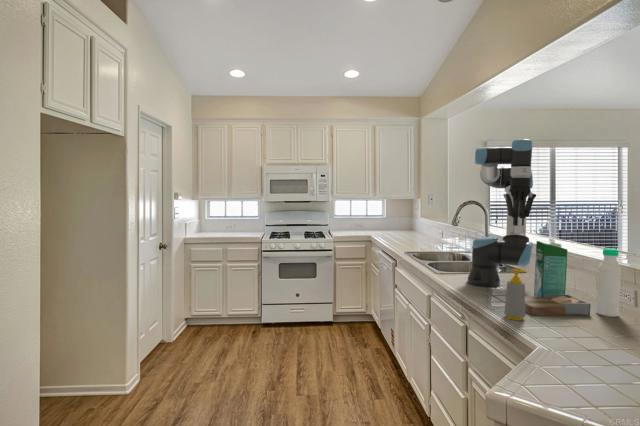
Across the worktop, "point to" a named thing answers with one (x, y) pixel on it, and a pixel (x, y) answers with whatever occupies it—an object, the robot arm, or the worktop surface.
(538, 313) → the walnut board
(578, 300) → the tile
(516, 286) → the soap bottle
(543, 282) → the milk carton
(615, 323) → the worktop surface
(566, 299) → the tile
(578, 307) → the tray
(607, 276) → the water bottle
